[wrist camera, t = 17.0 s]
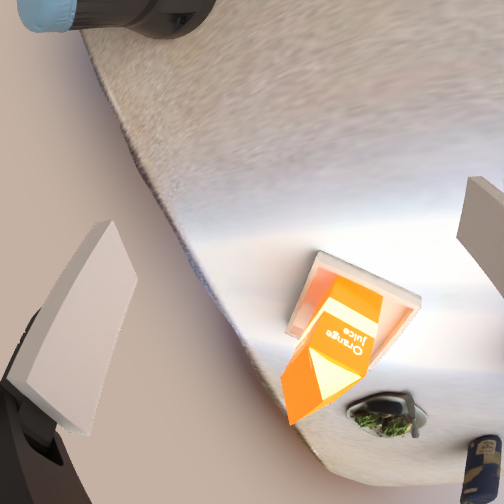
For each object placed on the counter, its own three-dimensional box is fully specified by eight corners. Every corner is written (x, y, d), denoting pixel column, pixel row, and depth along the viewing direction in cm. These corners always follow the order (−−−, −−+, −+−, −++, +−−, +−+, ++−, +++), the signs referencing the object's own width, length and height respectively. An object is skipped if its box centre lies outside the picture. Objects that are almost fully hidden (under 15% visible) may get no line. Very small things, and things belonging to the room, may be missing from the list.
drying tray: (289, 323, 54) (284, 332, 52) (319, 250, 43) (315, 258, 42) (372, 361, 50) (369, 371, 48) (421, 297, 39) (421, 307, 38)
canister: (479, 452, 49) (471, 512, 36) (461, 444, 51) (450, 508, 37) (508, 438, 43) (503, 502, 30) (490, 429, 45) (484, 499, 31)
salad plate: (447, 421, 49) (445, 439, 46) (386, 440, 61) (382, 455, 58) (402, 380, 49) (399, 400, 46) (337, 405, 61) (331, 421, 58)
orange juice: (384, 296, 42) (355, 416, 26) (354, 331, 47) (316, 439, 32) (338, 270, 43) (288, 383, 28) (313, 308, 48) (261, 411, 33)
